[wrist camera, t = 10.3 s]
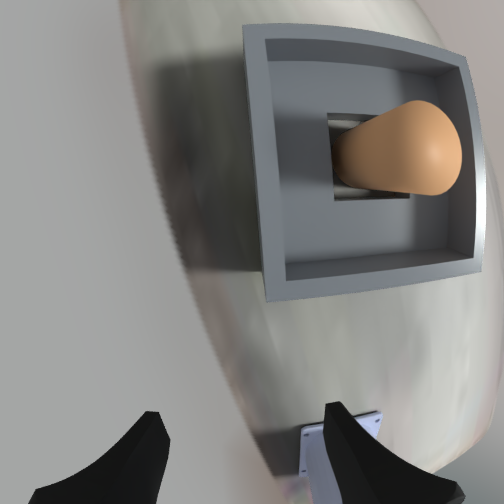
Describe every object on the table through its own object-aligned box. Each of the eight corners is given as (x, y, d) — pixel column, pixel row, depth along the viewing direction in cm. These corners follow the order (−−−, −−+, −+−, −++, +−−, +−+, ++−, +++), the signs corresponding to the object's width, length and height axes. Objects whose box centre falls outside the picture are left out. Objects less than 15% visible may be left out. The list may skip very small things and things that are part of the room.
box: (440, 253, 19) (481, 271, 14) (261, 271, 19) (266, 302, 14) (427, 75, 15) (465, 56, 11) (243, 61, 16) (242, 24, 11)
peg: (388, 187, 18) (464, 195, 10) (333, 189, 18) (392, 196, 10) (382, 130, 17) (455, 107, 9) (328, 128, 17) (381, 95, 9)
